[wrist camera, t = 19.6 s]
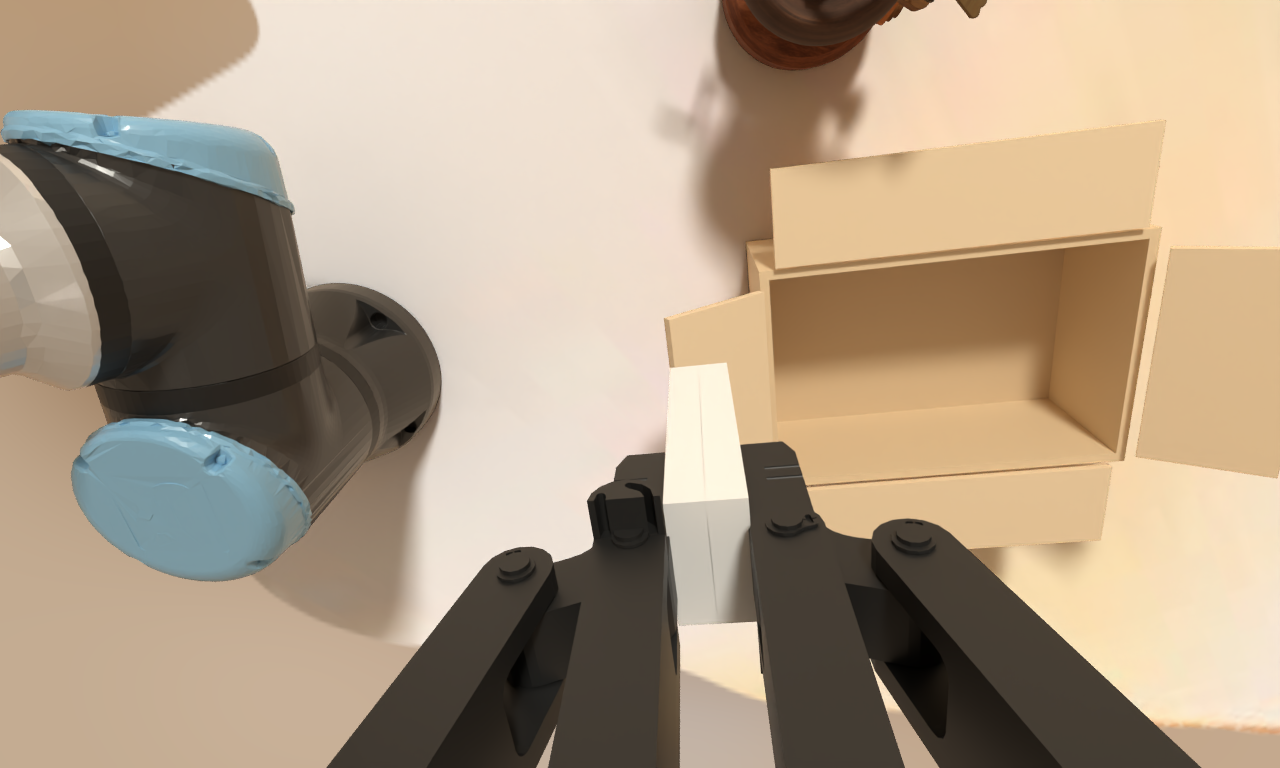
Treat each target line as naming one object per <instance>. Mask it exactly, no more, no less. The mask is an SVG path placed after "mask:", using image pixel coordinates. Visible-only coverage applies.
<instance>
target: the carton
mask: <svg viewBox="0 0 1280 768" xmlns="http://www.w3.org/2000/svg"><path fill="white" fill-rule="evenodd" d="M1165 125H1166V120H1155V121H1148V122H1140V123H1132V124H1124V125H1116V126H1108V127H1100V128H1092V129H1084V130H1076V131H1068V132H1060V133H1052V134H1044V135H1036V136H1028V137H1020V138H1013V139H1005V140H997V141H989V142H981V143H973V144H965V145H957V146H949V147H941V148H933V149H925V150H917V151H909V152H901V153H893V154H885V155H878V156H870V157H862V158H854V159H846V160H838V161H830V162H822V163H814V164H806V165H798V166H790V167H782V168H774V169H770V188H771V207H772V226H773V239H765V240H757V241H748V242H746V251H747V266H748V281H749V293H752V292H756V291H761V292H764V298H765V315H766V332H767V348H768V365H769V382H770V399H771V415H772V432H773V442H779V441H783V442H784V443H785V444H786V445H788V446H789V447H790V448H791V449H793V450H794V451H795V452H796V456H797V459H798V462H799V467H800V468H801V471H802V475H803V478H804V481H805V484H806V485H817V484H830V483H843V482H855V481H868V480H881V479H894V478H907V477H920V476H933V475H945V474H958V473H971V472H984V471H997V470H1010V469H1023V468H1036V467H1048V466H1061V465H1074V464H1087V463H1100V462H1113V461H1124V458H1125V452H1126V446H1127V440H1128V434H1129V428H1130V421H1131V415H1132V409H1133V403H1134V397H1135V391H1136V385H1137V378H1138V372H1139V366H1140V360H1141V354H1142V348H1143V341H1144V335H1145V329H1146V323H1147V317H1148V311H1149V305H1150V298H1151V292H1152V286H1153V280H1154V274H1155V268H1156V262H1157V255H1158V249H1159V243H1160V237H1161V231H1162V227H1158V226H1154V225H1151V224H1150V221H1151V215H1152V208H1153V202H1154V195H1155V189H1156V183H1157V176H1158V170H1159V163H1160V157H1161V150H1162V144H1163V138H1164V131H1165ZM1111 472H1112V467H1111V466H1110V465H1109V464H1101V465H1088V466H1075V467H1062V468H1049V469H1037V470H1024V471H1011V472H998V473H985V474H972V475H959V476H946V477H933V478H920V479H907V480H895V481H882V482H869V483H856V484H843V485H830V486H817V487H807V490H808V494H809V497H810V500H811V503H812V506H813V510H814V512H815V513H817V514H819V515H820V517H821V518H822V519H823V521H824V522H825V525H826V527H827V528H829V529H831V530H832V531H835V532H837V533H840V534H843V535H847V536H852V537H858V538H866V539H872V535H873V531H874V530H875V529H876V528H877V527H878V526H879V525H880V524H883V523H885V522H888V521H891V520H895V519H906V518H910V519H918V520H925V521H928V522H930V523H933V524H936V525H939V526H940V527H942V528H943V529H945V530H946V531H948V532H950V533H951V534H952V535H953V536H954V537H955V538H956V539H957V540H958V541H959V542H960V543H961V544H963V545H964V546H965V547H966V548H967V549H977V548H992V547H1007V546H1022V545H1037V544H1052V543H1067V542H1082V541H1097V540H1101V536H1102V529H1103V523H1104V517H1105V510H1106V504H1107V497H1108V491H1109V484H1110V478H1111Z"/></svg>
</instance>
